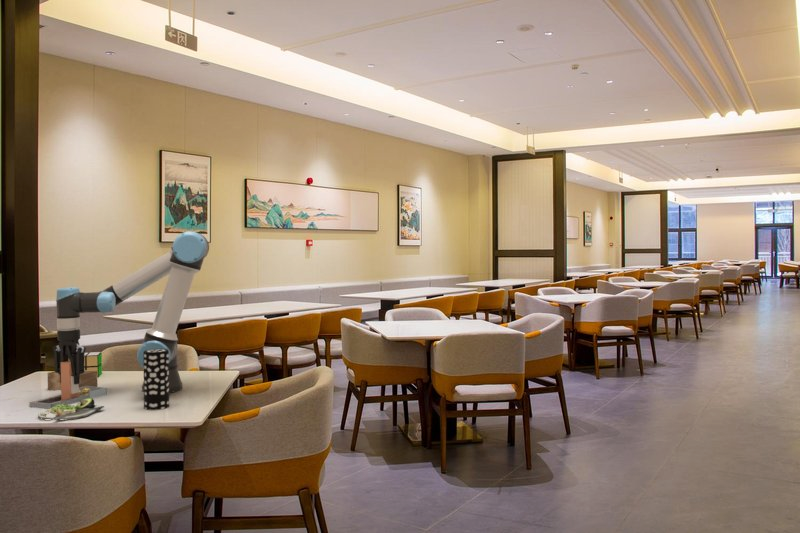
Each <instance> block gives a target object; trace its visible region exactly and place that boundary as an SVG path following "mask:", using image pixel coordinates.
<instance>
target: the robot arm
mask: <svg viewBox="0 0 800 533" xmlns="http://www.w3.org/2000/svg"><path fill="white" fill-rule="evenodd" d="M209 249H210V245H209V241H208V240H207V238H206V237H205V236H204V235H203V234H200V233H198V232H196V231H191V230H189V231H184V232H181V233H180V234H178V236H177V237H176V238H175V239H174V240H173V244H172V246H171V247H170V249H169V251H168V252H166V253H165V254H163V255H161V256H159V257H158V258H155V259H154V260H153V261H151V262H149V263H147V264H146V265H143V266H142V267H141V268H138V269H137V270H136V271H134V272H132V273H131V274H129V275H127V276H126V277H124V278H122V279H120V280H119V281H117V282H115V283H114V284H112V285H110V286H108V287H107V288H105V289H103V290H100V291H95V292H81V291H80V288H79V287H77V286H75V287H73V286H72V287H70V286H69V287H67V286H66V287H59V288H57V290H56V298H55V302H56V329H57V332H56V337H57V341H59V342H58V345H54V346H52V351H53V354H54V355H53V357H54V361H53V362H54V371H55V373H59V375H60V383H61V362H66V361H70V362H71V368H72V374H73V375H71V394H74V393H78V392H79V383H80V379H79V375H80V374H82V373H84V353H86V349H87V347H86V346H82V345H80V342H79V340H80V339H81V329H80V327H81V314H82V313H83V314H84V313H85V314H86V313H87V314H88V313H102V314H103V313H104V314H105V313H112V312H113V311H114V310H115V308H116V307H117V305H119V304H122V303H123V302H125V300H127V299H130V298H131V297H133V296H134V295H136V294H138V293H140V292H142V291H143V290H145V289H146V288H147V287H150V286H152V285H153V284H155V283H157V282H158V281H160V280H161V279H163V278H164V277H167V276H168V275H169V276H168V278H167V281H166V284H165V287H164V289H163V290H164V291H163V293H162V297H161V300H160V303H159V305H158V308H157V312H156V315H155V318H154V321H153V324H152V327H151V328H149V329H147V330H146V332H145V334H144V338H143V340H142V343H141V345H140V346H139V347H138V349H137V354H136V359H137V362H138V364H139V366H141V368H143V369H144V356H143V351H146V350H152V349H167V350H169V394H170V393H176V392H178V391H182V390H183V381H182V379H181V375H180V374H179V373H180V372H179V368H178V360H179V359H178V342H179V339H178V334H177V333H176V332H177V329H178V326H179V323H180V319H181V316H182V314H183V311H184V307H185V304H186V301H187V298H188V295H189V293H190V289H191V287H192V283H193V280H194V277H195V275H196V274H197V273H199V272H201V268H202V265H203V262H204V259H205V258H206V257H207V256H208V253H209ZM141 392H143V393H144V381H143V383H142V385H141Z"/></svg>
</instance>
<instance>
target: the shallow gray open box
mask: <svg viewBox="0 0 800 533" xmlns="http://www.w3.org/2000/svg"><path fill="white" fill-rule="evenodd" d="M87 398H90V394H85V395H81V396H77V397H73V398H69V399H65V400H61V394H58V395H54V396H50V397H46V398H41V399H38V400H34V401H30V402H29V406H28V407H29V408H36V409H44V410H49V409H51V408H52V407H55V406H56V405H62V404H68V405H73V404H75V403H80V401H82V400H84V399H87Z"/></svg>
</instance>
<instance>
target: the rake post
mask: <svg viewBox="0 0 800 533" xmlns="http://www.w3.org/2000/svg"><path fill="white" fill-rule="evenodd" d="M71 375H73V374H72V368H71V362H70V360H68V361H66V362H61V390H60V395H61V400H65V399H69V398H73V397H77V396H79V392H78V393H74V394H71Z"/></svg>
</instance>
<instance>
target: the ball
mask: <svg viewBox="0 0 800 533" xmlns="http://www.w3.org/2000/svg"><path fill="white" fill-rule="evenodd" d="M90 391H91V390H90V388H84V389H83V390H82V395H85V394H89V392H90Z"/></svg>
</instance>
